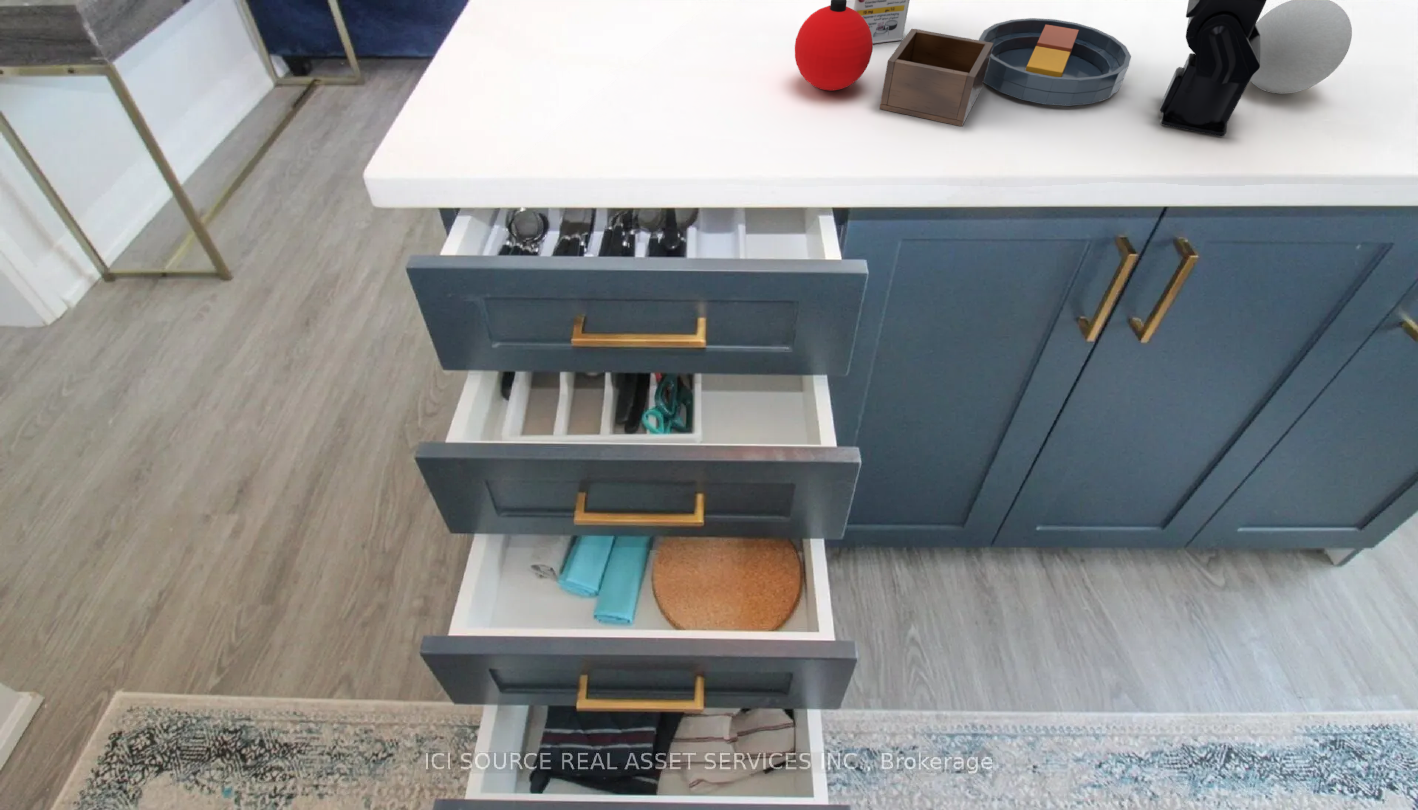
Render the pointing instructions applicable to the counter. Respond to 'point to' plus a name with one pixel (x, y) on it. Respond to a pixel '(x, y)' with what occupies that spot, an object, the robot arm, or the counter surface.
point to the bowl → (1085, 76)
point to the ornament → (833, 47)
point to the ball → (1301, 44)
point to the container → (882, 17)
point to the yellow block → (1048, 61)
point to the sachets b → (1057, 38)
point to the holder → (935, 76)
